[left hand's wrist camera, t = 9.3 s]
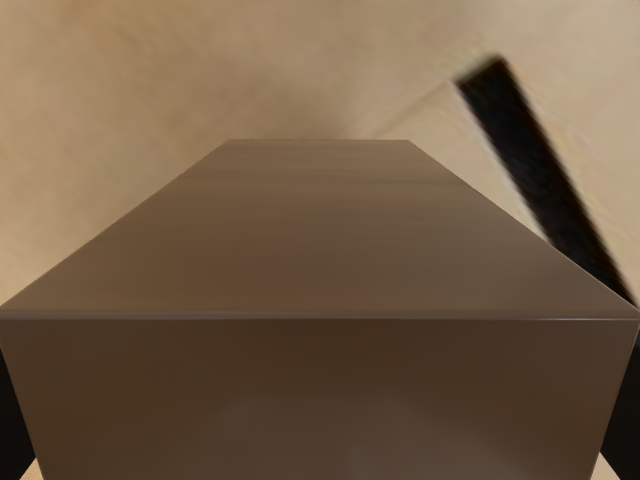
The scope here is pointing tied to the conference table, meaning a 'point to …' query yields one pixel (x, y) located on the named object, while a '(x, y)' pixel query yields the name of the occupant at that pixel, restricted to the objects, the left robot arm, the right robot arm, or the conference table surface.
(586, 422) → the box
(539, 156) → the conference table surface
